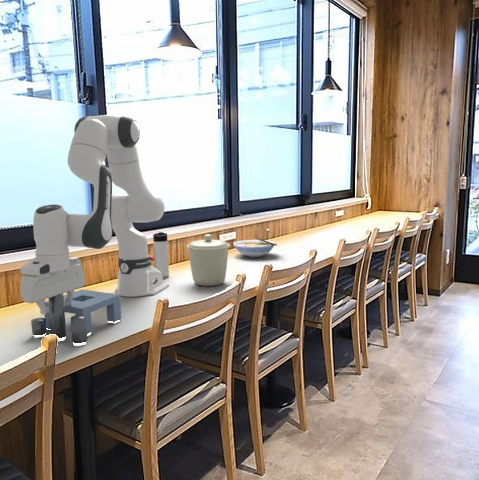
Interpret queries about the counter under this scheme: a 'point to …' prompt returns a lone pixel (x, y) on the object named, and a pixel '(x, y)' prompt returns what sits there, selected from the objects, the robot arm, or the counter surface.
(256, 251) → the ramen bowl
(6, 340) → the counter surface
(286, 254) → the counter surface
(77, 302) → the grey legged square frame
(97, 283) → the counter surface
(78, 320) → the medium steel pin
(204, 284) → the canister
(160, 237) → the travel mug
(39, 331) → the short steel pin
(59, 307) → the tall steel pin
